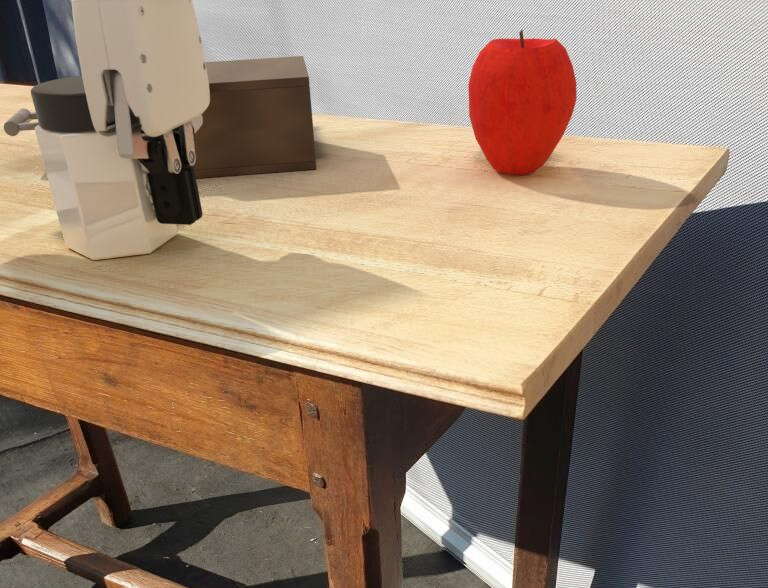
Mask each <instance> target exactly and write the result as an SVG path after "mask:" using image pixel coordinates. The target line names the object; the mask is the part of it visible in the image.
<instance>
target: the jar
mask: <svg viewBox="0 0 768 588" xmlns="http://www.w3.org/2000/svg"><path fill="white" fill-rule="evenodd" d="M30 96H31V99H32V102H33V107H34V112H36V115H37V119H36V120H37V122H39V125H37V126H36V127H35V130H34V133H35V136H36V141H37V143H38V147H39V151H40V155H41V158H42V162H43V166H44V170H45V174H46V177H47V181H48V185H49V188H50V193H51V196H52V200H53V203H54V207H55V211H56V214H57V215H56V216H57V218H58V222H59V226H60V228H61V230H60V231H61V234H62V238H63V241H64V245H65V246H66V248H68V249H69V250H72V251H73V252H76V253H78V254H80V255H82V256H83V257H86V258H87V259H90V260H92V261H98V260H106V259H115V258H116V259H117V258H124V257H132V256H142V255H149V254H152V253H153V252H154V251H155V250H157V249H159V248H160V247H161V246H163V245H164V244H165V243H167V242H169V241H170V240H171V239H173V238H174V237H175V236H177V234H178V228H177V224H161V223H159V222H158V220H157V217H156V212H155V208H154V203H153V199H152V194H151V189H150V185H149V180H148V175H147V173H144V172H143V171H142V168H141V165H140V162H139V160H138V159H123V158H121V157H120V155H119V152H118V144H117V134H116V135H114V136H109V137H106V136H101V135H99V134H98V133H97V132H96V130H95V128H94V126H93V123H92V119H91V115H90V111H89V107H88V102H87V98H86V93H85V88H84V83H83V78H82V75H75V76H67V77H62V78H57V79H52V80H48V81H44V82H40V83H38V84H36V85H35V86H33V87H31V88H30ZM113 123H115V122H113ZM106 125H108V123H107V120H106ZM114 128H116V127H114ZM114 132H116V129H115V131H114ZM112 133H113V132H112Z"/></svg>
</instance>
